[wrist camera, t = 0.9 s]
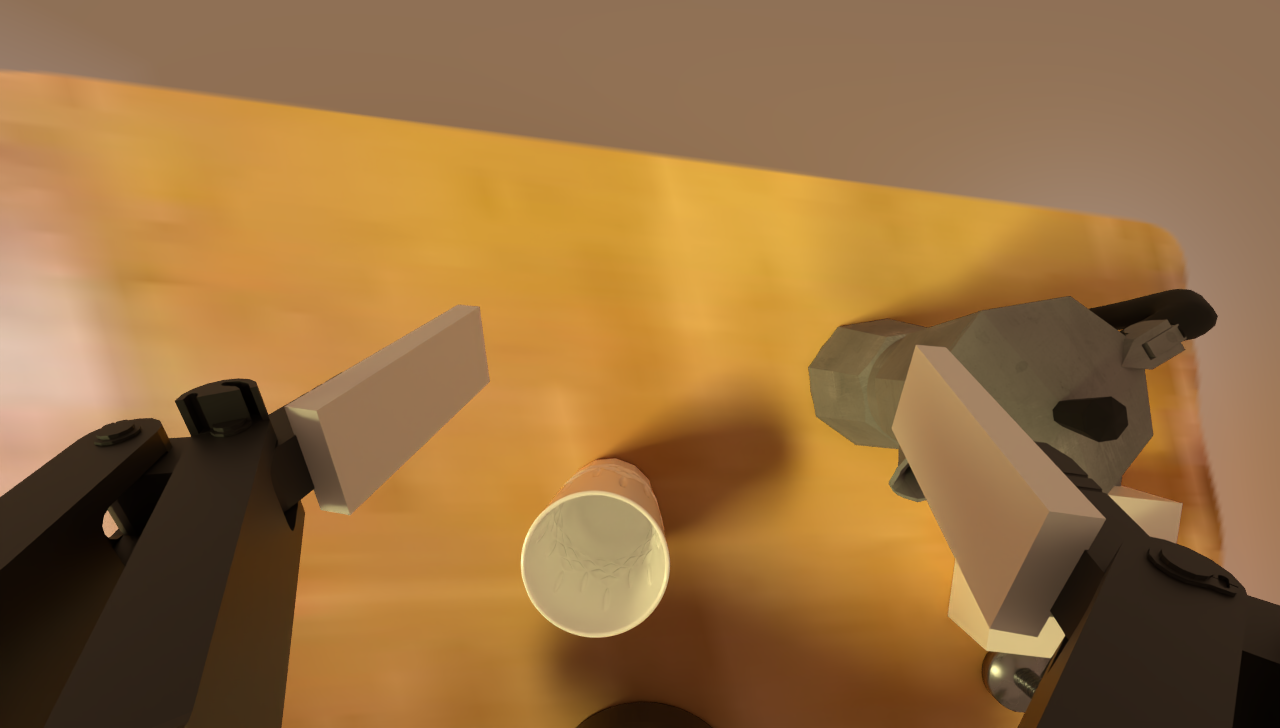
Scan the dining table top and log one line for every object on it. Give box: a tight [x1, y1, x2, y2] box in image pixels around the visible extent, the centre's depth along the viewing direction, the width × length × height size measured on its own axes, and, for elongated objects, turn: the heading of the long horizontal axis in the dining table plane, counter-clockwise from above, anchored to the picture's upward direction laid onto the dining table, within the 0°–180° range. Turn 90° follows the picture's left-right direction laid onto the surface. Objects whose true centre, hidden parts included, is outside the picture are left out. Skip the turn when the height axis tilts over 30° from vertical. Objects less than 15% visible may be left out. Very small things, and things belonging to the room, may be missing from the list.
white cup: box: [521, 458, 670, 638], centre depth 30 cm, size 8×8×10 cm
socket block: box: [948, 485, 1183, 658], centre depth 33 cm, size 11×11×4 cm
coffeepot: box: [808, 289, 1218, 502], centre depth 25 cm, size 15×9×18 cm, turn 122°
